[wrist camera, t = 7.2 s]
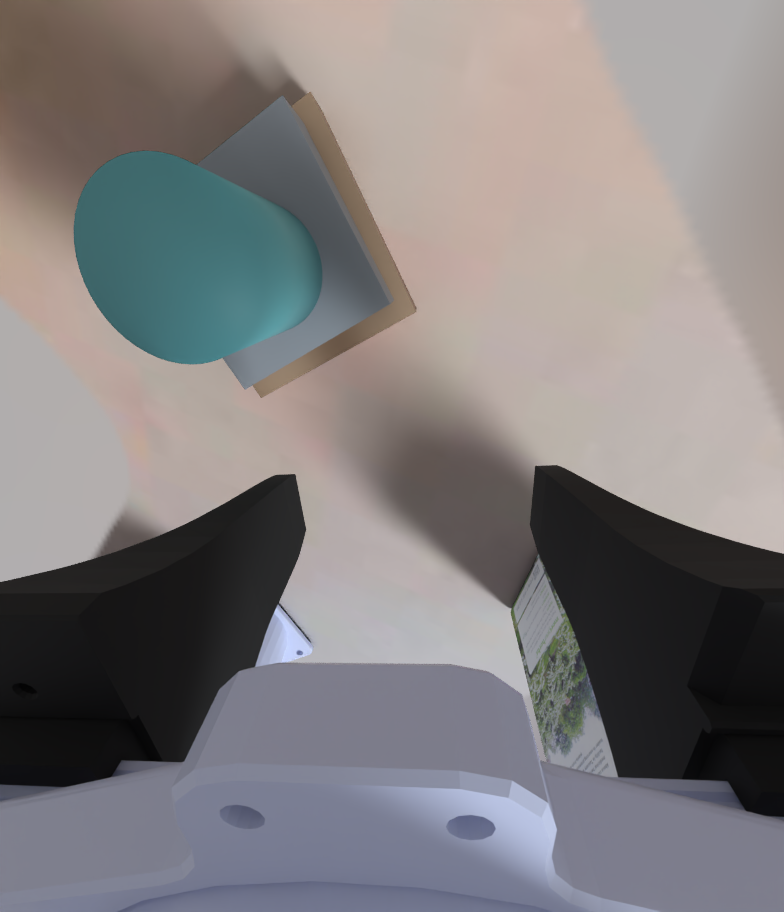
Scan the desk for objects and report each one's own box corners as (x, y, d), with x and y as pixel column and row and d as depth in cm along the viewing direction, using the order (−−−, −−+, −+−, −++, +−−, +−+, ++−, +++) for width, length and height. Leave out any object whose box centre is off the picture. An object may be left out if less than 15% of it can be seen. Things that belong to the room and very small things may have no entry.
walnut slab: (277, 384, 21) (261, 397, 19) (175, 227, 19) (141, 221, 16) (416, 307, 19) (416, 311, 17) (325, 116, 16) (310, 91, 14)
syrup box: (588, 628, 27) (751, 971, 14) (505, 609, 26) (587, 939, 13) (628, 564, 24) (873, 907, 11) (536, 543, 24) (675, 867, 11)
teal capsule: (254, 353, 16) (167, 394, 10) (180, 246, 14) (33, 229, 9) (345, 294, 15) (301, 306, 9) (274, 171, 13) (173, 99, 8)
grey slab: (266, 375, 19) (244, 389, 16) (167, 228, 16) (126, 221, 14) (394, 300, 17) (390, 303, 15) (303, 123, 15) (282, 95, 12)
